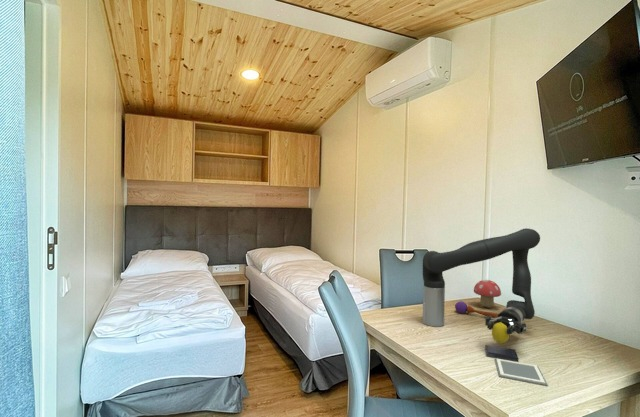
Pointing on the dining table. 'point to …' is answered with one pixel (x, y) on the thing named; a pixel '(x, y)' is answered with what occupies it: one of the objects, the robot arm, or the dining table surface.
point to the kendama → (471, 310)
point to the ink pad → (501, 353)
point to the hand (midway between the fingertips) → (498, 329)
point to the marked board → (520, 372)
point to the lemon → (500, 332)
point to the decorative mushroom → (487, 292)
